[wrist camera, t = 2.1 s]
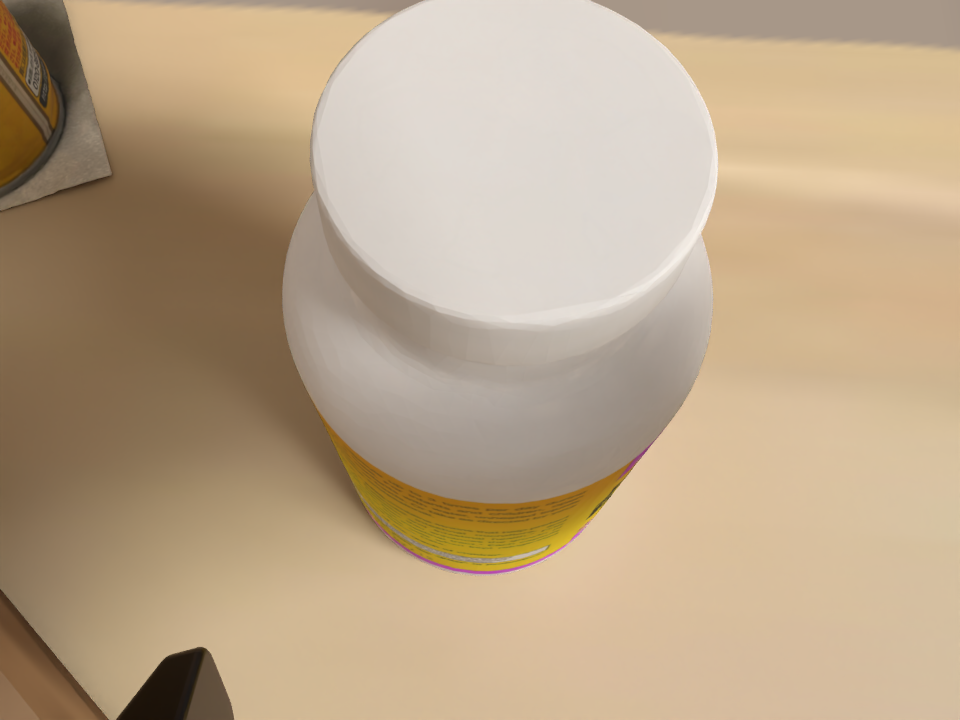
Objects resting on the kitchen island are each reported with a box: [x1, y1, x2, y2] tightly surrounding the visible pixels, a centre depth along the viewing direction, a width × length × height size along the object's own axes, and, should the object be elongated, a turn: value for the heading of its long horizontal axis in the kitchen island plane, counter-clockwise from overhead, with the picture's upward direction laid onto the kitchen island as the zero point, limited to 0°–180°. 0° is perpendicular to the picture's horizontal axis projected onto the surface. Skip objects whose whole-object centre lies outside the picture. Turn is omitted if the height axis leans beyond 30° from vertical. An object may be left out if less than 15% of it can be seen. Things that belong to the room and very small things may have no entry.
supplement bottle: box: [282, 0, 718, 576], centre depth 15 cm, size 7×7×13 cm
